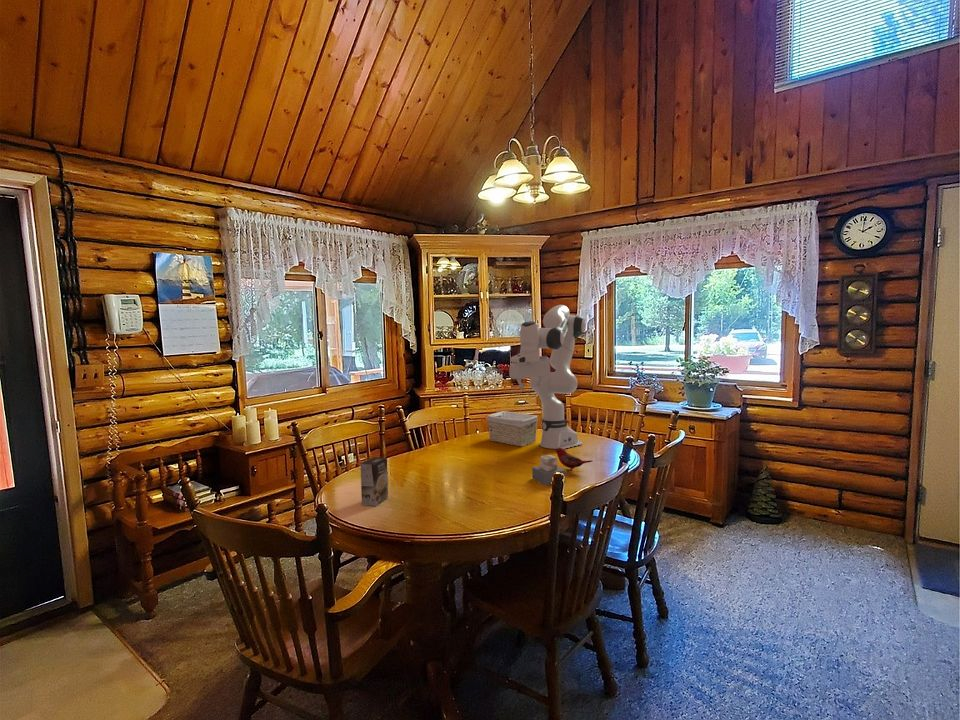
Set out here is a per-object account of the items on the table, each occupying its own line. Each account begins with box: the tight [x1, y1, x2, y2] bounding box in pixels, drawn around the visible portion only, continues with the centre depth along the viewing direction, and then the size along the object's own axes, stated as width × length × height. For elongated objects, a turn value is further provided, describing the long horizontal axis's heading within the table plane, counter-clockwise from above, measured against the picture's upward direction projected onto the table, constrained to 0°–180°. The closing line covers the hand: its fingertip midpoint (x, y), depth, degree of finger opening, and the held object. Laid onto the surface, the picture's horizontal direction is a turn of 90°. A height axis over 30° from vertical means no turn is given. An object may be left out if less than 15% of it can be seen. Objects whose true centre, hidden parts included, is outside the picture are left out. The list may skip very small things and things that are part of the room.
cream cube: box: [539, 454, 558, 471], centre depth 214 cm, size 5×5×5 cm
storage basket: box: [486, 410, 539, 447], centre depth 277 cm, size 24×16×15 cm
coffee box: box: [359, 456, 389, 507], centre depth 193 cm, size 9×6×16 cm
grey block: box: [531, 465, 566, 486], centre depth 214 cm, size 10×10×5 cm
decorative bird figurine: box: [554, 448, 593, 472], centre depth 224 cm, size 3×18×10 cm, turn 59°
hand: (530, 386), depth 235 cm, fingers open, 8 cm apart
